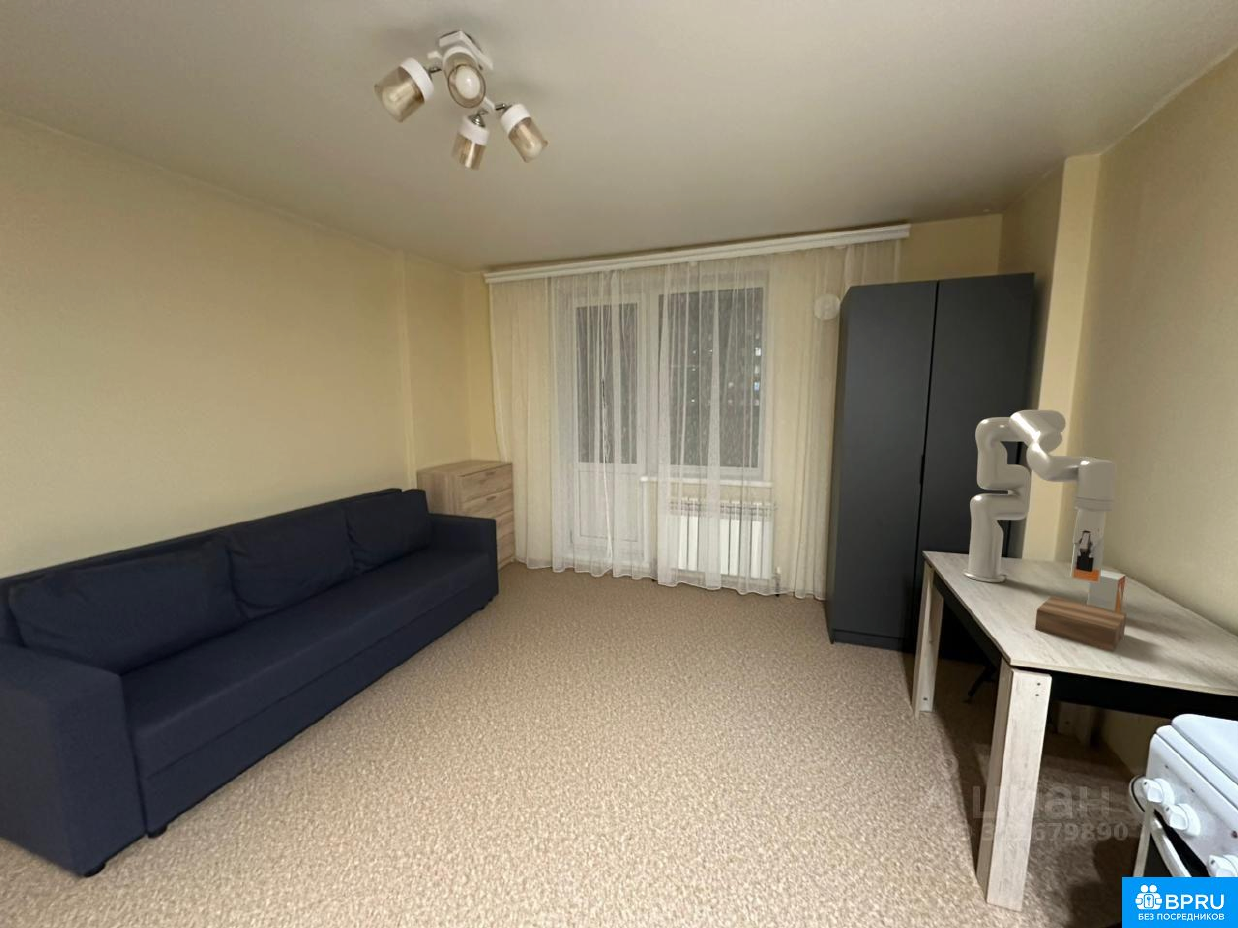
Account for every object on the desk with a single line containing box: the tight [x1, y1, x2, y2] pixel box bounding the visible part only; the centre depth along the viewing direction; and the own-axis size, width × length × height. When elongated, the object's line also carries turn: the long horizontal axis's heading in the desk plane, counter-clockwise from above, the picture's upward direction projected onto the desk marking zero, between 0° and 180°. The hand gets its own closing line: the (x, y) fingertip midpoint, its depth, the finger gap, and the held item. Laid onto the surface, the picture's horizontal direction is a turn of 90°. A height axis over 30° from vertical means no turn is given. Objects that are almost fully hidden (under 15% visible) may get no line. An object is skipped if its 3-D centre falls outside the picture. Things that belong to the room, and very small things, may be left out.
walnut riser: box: [1034, 595, 1127, 652], centre depth 138 cm, size 16×16×6 cm
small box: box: [1086, 569, 1127, 613], centre depth 148 cm, size 8×6×13 cm
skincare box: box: [1069, 538, 1106, 584], centre depth 136 cm, size 6×4×12 cm
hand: (1086, 567), depth 136 cm, fingers closed on skincare box, 4 cm apart
